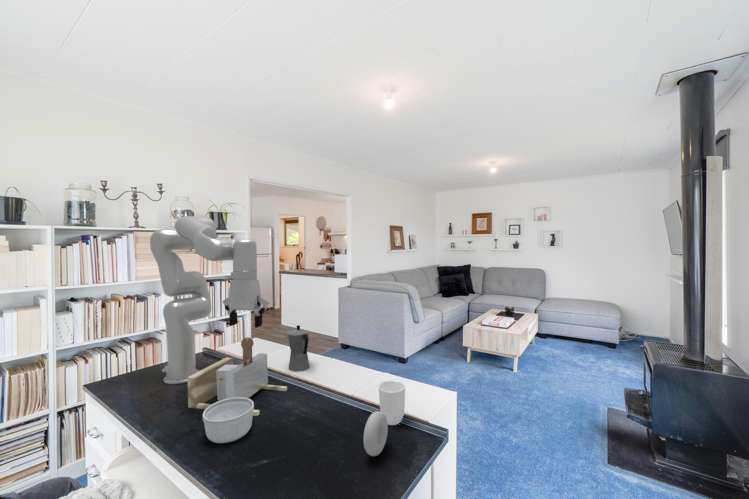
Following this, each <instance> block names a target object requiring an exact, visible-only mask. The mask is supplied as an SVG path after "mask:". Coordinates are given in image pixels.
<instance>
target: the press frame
mask: <svg viewBox="0 0 749 499" xmlns="http://www.w3.org/2000/svg"><path fill="white" fill-rule="evenodd" d="M224 365H235V364H234V357H225V358H222V359H221V360H219V361H216V362H214V363H213V364H211V365H209V366H206V367H205V368H202V369H201V370H199V372H197V373H195V374H193V375H191V376H189V377H187V381H188V382H187V402H188V403H187V404H188V408H190V409H199V410H205V409H206V408H208V407H209V406H210V405H212V404H213V403H212V404H211V403H207V402H209V401H210V400H212V399H213V398H215V397H216V396H217V377H216V371H217V370H218V369H219V368H221V367H222V366H224ZM260 390H268V391H269V390H271V391H278V392H279V391H280V392H286V391H287V390H288V386H284V385H274V384H266V385H265V386H264V387H262V388H261V389H260ZM260 412H261V411H260V409H254V410H253V417H256V416H257V417H258V416H259V415H260Z"/></svg>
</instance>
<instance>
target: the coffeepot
mask: <svg viewBox="0 0 749 499" xmlns="http://www.w3.org/2000/svg"><path fill="white" fill-rule="evenodd" d="M309 335H310V331H309V330H307V329H301V325H296V329H290V331H287V338H288V342H289V343H288V344H289V349H290V355H289V362H288V370H289V371H291V372H292V371H293V372H302V371H306V370H308V369H309V368H310V360H309V356H308V348H309Z"/></svg>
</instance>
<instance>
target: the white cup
mask: <svg viewBox="0 0 749 499" xmlns="http://www.w3.org/2000/svg"><path fill="white" fill-rule="evenodd" d="M378 397H379V399H378V400H379V408H380V412H382V413H383V414H384V415H385V416H386V419H387V424H388V426H398V425H400V424H399V423H400V421H401V419H402V418H403V416H404V415H405V407H406V406H405V405H406V403H405V402H406V385H405V384H404V383H403V382H401V381H398V380H386V381H382V382H381V383H380V384H379V385H378ZM404 417H405V416H404ZM397 424H398V425H397Z"/></svg>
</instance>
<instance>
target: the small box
mask: <svg viewBox="0 0 749 499" xmlns="http://www.w3.org/2000/svg"><path fill="white" fill-rule="evenodd" d="M238 365H239V364H234V365H224V366H222V367H221V368H219V369H218V370H217V371H216V377H217V395H216V396H217V398H216V399H217V402H218V401H221V400H224V399H226V380H225V373H226V372H228V371H230V370H231V369H233V368H235V367H237V366H238Z"/></svg>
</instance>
